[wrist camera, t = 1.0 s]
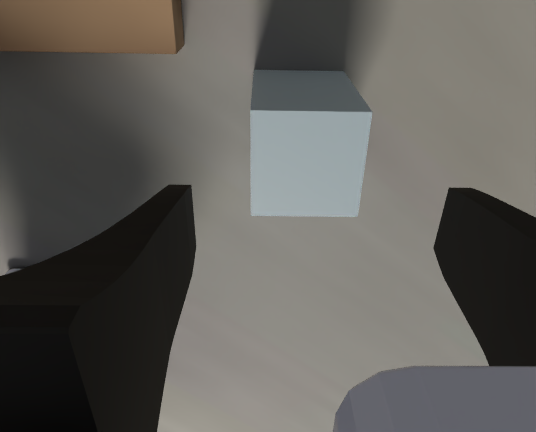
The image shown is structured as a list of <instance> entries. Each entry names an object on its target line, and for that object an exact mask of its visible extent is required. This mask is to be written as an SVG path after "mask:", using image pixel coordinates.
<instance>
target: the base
mask: <svg viewBox="0 0 536 432" xmlns="http://www.w3.org/2000/svg"><path fill="white" fill-rule="evenodd" d="M183 46H184V35H183V22H182V9H181V0H0V51H27V52H88V53H149V54H177V53H178V51H179V50H180V49H181V48H182V47H183Z"/></svg>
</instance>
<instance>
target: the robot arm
mask: <svg viewBox="0 0 536 432" xmlns="http://www.w3.org/2000/svg"><path fill="white" fill-rule="evenodd" d="M195 251H196V237H195V225H194V213H193V201H192V189H191V185H168V186H166V187H165V188H164V189H162V190H161V191H160V192H158V193H157V194H156V195H154V196H153V197H152V198H151V199H149V200H148V201H147V202H145V203H144V204H143V205H142V206H140V207H139V208H138V209H136V210H135V211H134V212H132V213H131V214H129V215H128V216H126V217H125V218H124V219H122V220H121V221H119V222H118V223H116V224H115V225H113V226H112V227H110V228H109V229H107V230H105V231H104V232H102V233H101V234H99V235H97V236H95V237H94V238H92V239H90V240H88V241H86V242H84V243H82V244H80V245H78V246H76V247H74V248H72V249H70V250H68V251H66V252H63V253H61V254H59V255H56V256H54V257H52V258H49V259H47V260H45V261H42V262H40V263H37V264H35V265H32V266H29V267H26V268H24V269H10V270H8V271H7V273H6V274H5V275H2V276H0V432H157V427H158V421H159V414H160V408H161V402H162V396H163V390H164V384H165V378H166V372H167V367H168V361H169V355H170V350H171V346H172V342H173V338H174V335H175V331H176V328H177V325H178V321H179V318H180V314H181V311H182V308H183V304H184V301H185V298H186V294H187V291H188V287H189V284H190V280H191V277H192V272H193V265H194V259H195ZM434 251H435V254H436V257H437V260H438V263H439V266H440V269H441V271H442V274H443V277H444V279H445V281H446V283H447V285H448V286H449V288H450V290H451V292H452V294H453V296H454V298H455V300H456V301H457V303H458V305H459V307H460V309H461V310H462V312H463V314H464V316H465V318H466V320H467V321H468V323H469V325H470V327H471V329H472V330H473V332H474V334H475V336H476V338H477V340H478V342H479V344H480V346H481V348H482V350H483V352H484V354H485V356H486V359H487V361H488V364H489V366H410V367H404V368H398V369H392V370H386V371H381V372H378V373H377V374H375V375H373V376H372V377H370V378H368V379H366V380H365V381H363V382H361V383H360V384H358V385H356V386H355V387H353V388H352V389H351V390H349V391H348V393H347V395H346V397H345V398H344V400H343V402H342V404H341V405H340V407H339V409H338V410H337V412H336V415H335V422H334V428H333V432H536V217H533V216H531V215H529V214H527V213H525V212H523V211H521V210H519V209H517V208H515V207H513V206H511V205H509V204H507V203H505V202H503V201H501V200H499V199H497V198H495V197H492V196H490V195H488V194H486V193H483V192H481V191H478V190H476V189H473V188H449V189H448V193H447V197H446V201H445V205H444V209H443V213H442V217H441V221H440V225H439V229H438V232H437V236H436V240H435V244H434Z"/></svg>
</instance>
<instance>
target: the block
mask: <svg viewBox="0 0 536 432" xmlns="http://www.w3.org/2000/svg"><path fill="white" fill-rule="evenodd" d="M250 113H251V216H327V217H358V211H359V204H360V197H361V189H362V182H363V175H364V168H365V161H366V154H367V147H368V140H369V133H370V126H371V119H372V111H371V109H370V108H369V106H368V105H367V104H366V102H365V101H364V99H363V98H362V96H361V95H360V94H359V92H358V91H357V89H356V88H355V87H354V85H353V84H352V82H351V81H350V79H349V78H348V77H347V75H346V74H345V72H344V71H301V70H254V75H253V87H252V98H251V110H250Z"/></svg>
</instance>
